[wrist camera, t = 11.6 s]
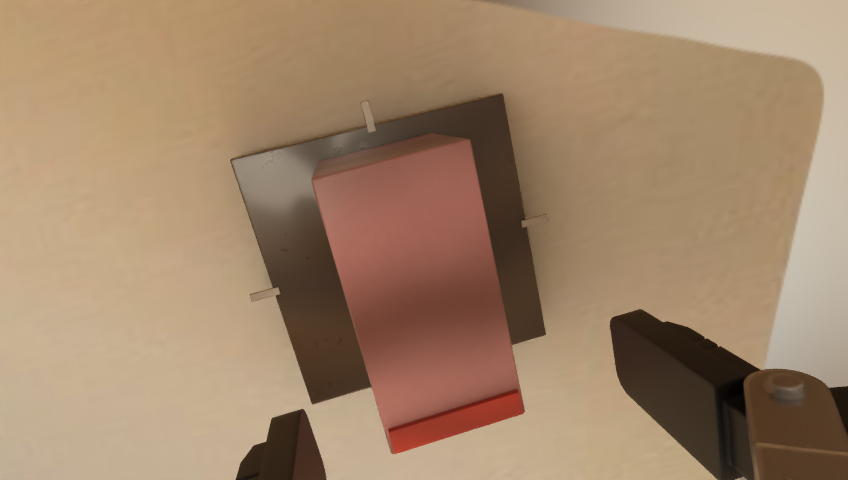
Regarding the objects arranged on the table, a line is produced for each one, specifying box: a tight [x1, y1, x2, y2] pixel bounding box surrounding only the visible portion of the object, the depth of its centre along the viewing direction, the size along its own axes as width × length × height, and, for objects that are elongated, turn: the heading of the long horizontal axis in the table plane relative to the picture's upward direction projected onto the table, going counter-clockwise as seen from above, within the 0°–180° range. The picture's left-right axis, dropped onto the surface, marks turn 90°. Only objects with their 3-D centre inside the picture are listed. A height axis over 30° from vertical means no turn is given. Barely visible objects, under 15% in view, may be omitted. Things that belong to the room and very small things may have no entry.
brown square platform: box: [230, 94, 548, 404], centre depth 26 cm, size 15×15×2 cm
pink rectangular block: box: [311, 133, 525, 454], centre depth 21 cm, size 11×6×7 cm, turn 13°
